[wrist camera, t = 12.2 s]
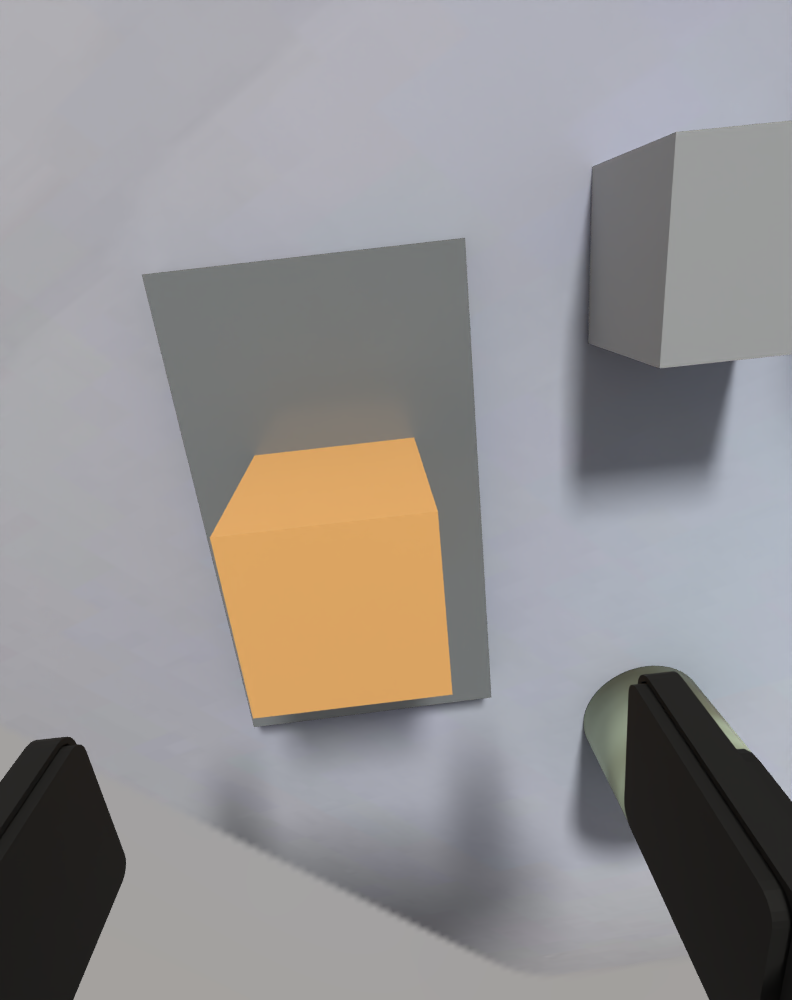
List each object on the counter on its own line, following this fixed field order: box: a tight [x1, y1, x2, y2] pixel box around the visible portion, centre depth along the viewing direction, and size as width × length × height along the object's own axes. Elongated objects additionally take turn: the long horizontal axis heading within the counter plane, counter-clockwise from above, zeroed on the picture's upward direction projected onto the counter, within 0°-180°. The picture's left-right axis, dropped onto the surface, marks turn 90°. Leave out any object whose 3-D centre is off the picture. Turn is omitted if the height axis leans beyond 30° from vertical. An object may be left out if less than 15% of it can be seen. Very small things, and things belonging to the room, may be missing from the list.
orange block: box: [210, 438, 453, 719], centre depth 17 cm, size 5×5×6 cm
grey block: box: [588, 121, 792, 368], centre depth 16 cm, size 5×5×5 cm
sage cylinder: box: [584, 666, 751, 821], centre depth 23 cm, size 5×5×5 cm
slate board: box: [142, 238, 491, 727], centre depth 20 cm, size 9×16×1 cm, turn 6°
